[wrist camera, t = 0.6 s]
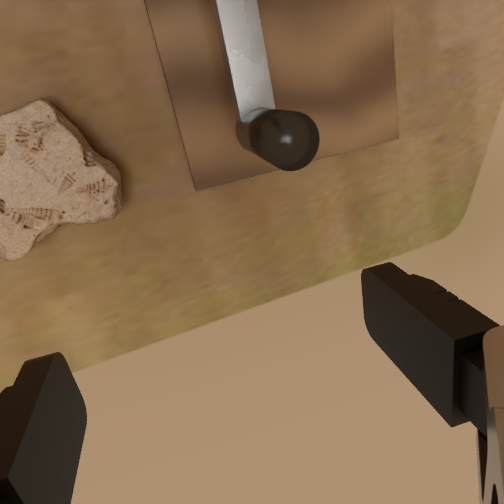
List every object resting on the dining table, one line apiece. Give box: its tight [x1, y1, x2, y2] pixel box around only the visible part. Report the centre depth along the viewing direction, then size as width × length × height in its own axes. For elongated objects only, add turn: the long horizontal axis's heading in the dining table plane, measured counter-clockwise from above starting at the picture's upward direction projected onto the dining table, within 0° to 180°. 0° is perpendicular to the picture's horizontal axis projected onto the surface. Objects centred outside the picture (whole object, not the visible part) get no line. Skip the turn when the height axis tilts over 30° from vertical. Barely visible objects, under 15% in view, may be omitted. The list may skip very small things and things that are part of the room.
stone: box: [0, 99, 123, 261], centre depth 29 cm, size 9×11×5 cm
